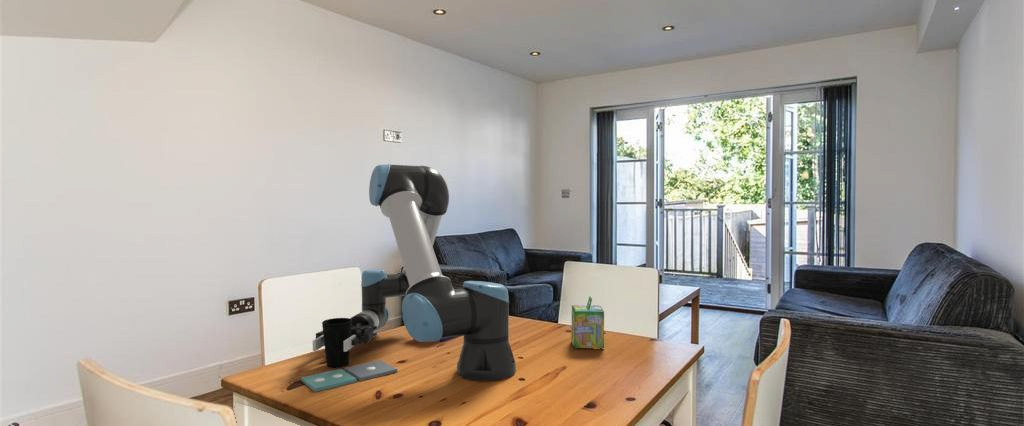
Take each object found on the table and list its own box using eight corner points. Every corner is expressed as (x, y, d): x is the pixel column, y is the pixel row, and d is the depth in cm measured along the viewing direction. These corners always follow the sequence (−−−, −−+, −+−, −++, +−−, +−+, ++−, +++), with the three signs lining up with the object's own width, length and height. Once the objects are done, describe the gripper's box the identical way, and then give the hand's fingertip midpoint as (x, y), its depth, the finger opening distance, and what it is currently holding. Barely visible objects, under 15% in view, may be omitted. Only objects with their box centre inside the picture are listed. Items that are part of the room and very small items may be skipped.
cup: (358, 362, 138) (358, 319, 138) (338, 371, 131) (337, 325, 131) (337, 359, 141) (336, 316, 141) (316, 367, 134) (315, 322, 134)
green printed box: (571, 341, 159) (570, 294, 158) (600, 341, 158) (600, 294, 158) (573, 349, 149) (573, 300, 149) (604, 349, 149) (604, 300, 149)
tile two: (356, 382, 123) (356, 378, 123) (315, 392, 117) (315, 388, 117) (340, 371, 131) (340, 368, 131) (301, 380, 124) (300, 377, 124)
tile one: (397, 372, 130) (397, 368, 130) (360, 381, 124) (360, 377, 124) (380, 362, 138) (380, 359, 138) (344, 370, 131) (344, 367, 131)
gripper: (395, 337, 153) (367, 361, 131) (330, 336, 155) (291, 359, 132) (395, 313, 153) (367, 332, 130) (330, 312, 155) (291, 331, 132)
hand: (329, 346), depth 131 cm, fingers closed on cup, 8 cm apart
